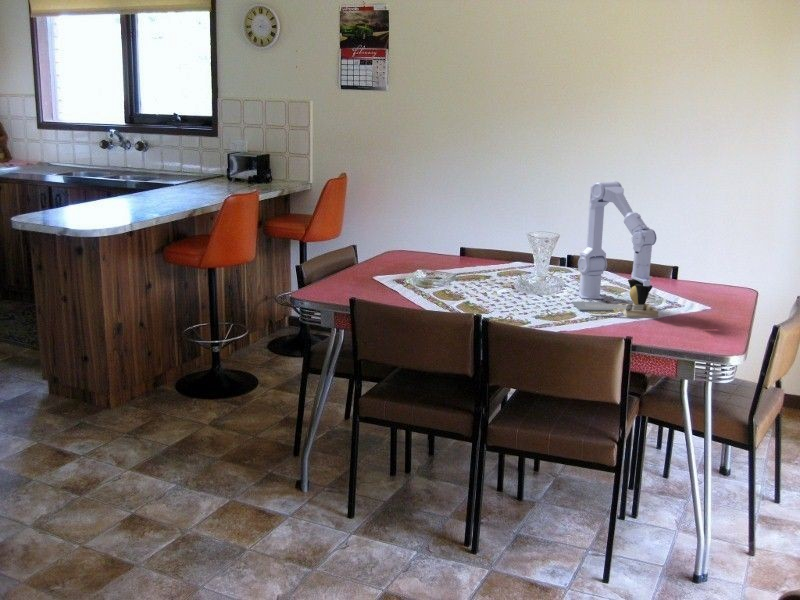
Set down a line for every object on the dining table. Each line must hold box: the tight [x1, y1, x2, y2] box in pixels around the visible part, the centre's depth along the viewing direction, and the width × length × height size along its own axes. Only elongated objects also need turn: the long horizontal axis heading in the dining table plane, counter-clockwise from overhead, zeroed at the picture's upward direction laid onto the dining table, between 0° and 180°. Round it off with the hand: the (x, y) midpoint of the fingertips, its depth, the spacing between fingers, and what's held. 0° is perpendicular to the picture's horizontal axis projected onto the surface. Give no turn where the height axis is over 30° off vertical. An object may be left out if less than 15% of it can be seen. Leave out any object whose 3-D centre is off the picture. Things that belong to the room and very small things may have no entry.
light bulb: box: [629, 286, 650, 310], centre depth 296 cm, size 6×6×10 cm
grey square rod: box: [585, 303, 632, 310], centre depth 293 cm, size 15×2×2 cm, turn 82°
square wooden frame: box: [617, 303, 659, 318], centre depth 297 cm, size 11×11×2 cm
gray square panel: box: [571, 301, 614, 312], centre depth 305 cm, size 12×12×1 cm
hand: (638, 302), depth 297 cm, fingers closed on light bulb, 6 cm apart
